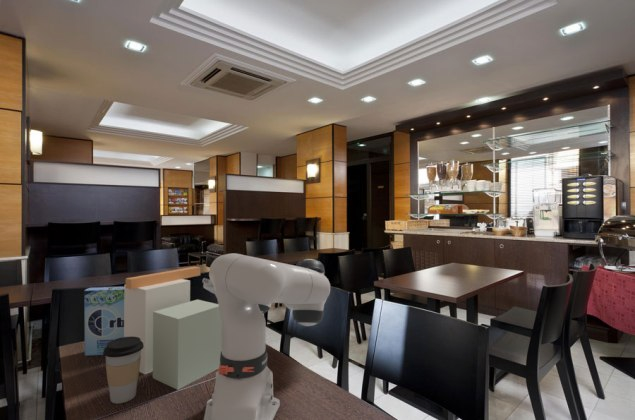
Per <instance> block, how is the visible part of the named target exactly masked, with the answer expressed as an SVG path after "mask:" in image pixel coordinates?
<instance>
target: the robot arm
mask: <svg viewBox="0 0 635 420" xmlns="http://www.w3.org/2000/svg"><path fill="white" fill-rule="evenodd" d="M208 272H209V273H208V276H209V279H208V278H206V277H204V278H203V279H202V280H201V281H202V282H201V283H203V286H202V288H203V289H205V290H207V291H208V292H210V293H211V294H214V295H215V297H216V299H217V304H218V305H219V310H220V315H221V321H222V352H221V355H220V360H219V364H220V365H219V369H217V371H216V372H215V384H214V389H213V390H214V391H213V392H212V393H211V396H210V399H208V400H207V401H206V406H205V411H204V416H203V420H274V418H275V417H276V414H277V412H278V410H279V408H280V406H281V402H280V399H278V398H277V397H275V396H274V375H273V371H272V370H271V369H270V368H269V367H268V350H267V347H266V341H267V340H266V337H267V336H266V331H267V329H266V326H267V325H266V324H267V323H266V318H265V316H264V314H265V313H267V312H269V311H270V309H271V307H272V304H277V303H278V304H283V305H284V306H285V307H286V308H287V309H289V310H290V311H292V318H293V321H294V322H295V323H298V324H299V325H301V326H304V327H311V326H315V325H317V324H320V323H321V322H322V321H323V319H324V314H325V310H324V308H325V304H326V301H327V300H328V298H329V296H330V293H331V283H330V281H329V278H327V276H326V275H325V274H326V271H325V265H324V264H323V263H322V262H321V261H320V260H316V259H313V258H305V259H302V260H299V261H298V263H296V265H294V264H290V263H289V264H288V263H283V262H279V261H275V260H270V259H264V258H260V257H255V256H250V255H246V254H245V255H244V254H241V253H236V252H235V253H226V254H223V255H222V254H221V255H220V256H218V257H216V258H215V259H214V260H213V261H212V263H211V264H210V267H209V271H208Z"/></svg>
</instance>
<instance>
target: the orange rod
mask: <svg viewBox="0 0 635 420" xmlns="http://www.w3.org/2000/svg"><path fill="white" fill-rule="evenodd" d="M199 276H201V266H191V267H190V266H189V267H185V268H180V269H179V268H178V269H173V270H166V271H161V272H156V273H150V274H144V275H138V276H133V277H132V276H131V277H127V278H125V285H126V288H128V289H135V288H140V287H145V286H150V285H155V284H160V283H165V282H170V281H175V280H180V279H184V280H186V279H189V278H193V277H199Z"/></svg>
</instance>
